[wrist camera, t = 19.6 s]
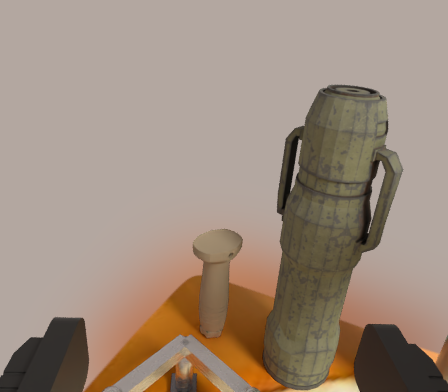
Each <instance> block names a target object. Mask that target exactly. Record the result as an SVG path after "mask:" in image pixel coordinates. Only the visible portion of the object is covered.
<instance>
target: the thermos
mask: <svg viewBox="0 0 448 392" xmlns="http://www.w3.org/2000/svg"><path fill="white" fill-rule="evenodd" d="M387 132H388V114H387V102H386V98H385V97H384V96H382V95H379V92H378V91H376V90H373V89H369V88H364V87H358V86H350V85H329V86H328V87H327V88H323V89H320V90H319V92H318V94H317V96H316V98H315V100H314V102H313V104H312V106H311V108H310V110H309V112H308V114H307V116H306V120H305V126H301V127H298V128H295V129H294V130H293V131H292V132H291V133H290V135H289V136H288V137H287V138H286V142H285V149H284V156H283V163H282V170H281V177H280V183H279V190H278V201H277V213H279V214H281V215H282V221H283V225H282V231H281V238H280V244H281V248H282V251H283V252H282V258H281V264H280V271H279V276H278V283H277V289H276V295H275V301H274V307H273V310H272V311H271V313H270V314H269V316H268V317H267V323H266V329H265V335H264V351H263V363H264V366H265V368H266V370H267V372H268V373H269V374H270V375H271V376H272V377H273V378H274V379H275V380H276V381H277V382H279V383H281V384H282V385H284V386H286V387H289V388H292V389H295V390H310V389H313V388H317V387H318V386H320V385H321V384H322V383H324V381H325V380H326V378H327V376H328V374H329V368H330V366H331V364H332V362H333V360H334V357H335V353H336V349H337V346H338V341H339V334H340V326H339V319H340V315H341V312H342V308H343V304H344V301H345V297H346V293H347V289H348V285H349V282H350V278H351V274H352V270H353V268H354V267H355V266H356V265H357V263H358V262H359V261H360V259H361V255H362V253H363V252H367V251H370V250H373V249H375V248H376V247H377V246H378V245H379V243H380V240H381V236H382V233H383V229H384V225H385V222H386V219H387V216H388V213H389V210H390V207H391V204H392V201H393V199H394V196H395V192H396V190H397V187H398V184H399V180H400V177H401V174H402V172H403V168H402V166H401V163H400V160H399V158H398V155H397V153H396V152H393V151H391V150H388V149H386V145H384V143H385V139H386V136H387ZM299 139H300V140H302V144H301V150H300V156H299V163H298V164H299V166H300V169H299V173H298V174H297V176H296V180H295V185H294V187H293V189H292V191H291V192H290V189H291V183H292V176H293V171H294V164H295V158H296V151H297V145H298V140H299ZM380 161H382V163H383V166H384V169H385V172H386V173H385V176H384V180H383V184H382V187H381V191H380V195H379V198H378V202H377V205H376V209H375V212H374V216H373V220H372V223H371V227H370V231H369V233H367V232H368V229H369V225H370V222H371V210H370V196H371V193H372V187H371V184H372V180H373V179H374V178H375V177H376V174H377V170H378V166H379V162H380Z"/></svg>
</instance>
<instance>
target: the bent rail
mask: <svg viewBox="0 0 448 392" xmlns="http://www.w3.org/2000/svg"><path fill="white" fill-rule="evenodd" d="M175 365H176V373H172V379H171V390H170V392H196V383H197V374H193V366H195V367H196V368H197V369H198V370H199V371H200V372H201V373H202V374H203V375H204V376H205V377H206V378H207V379H208V380H210V381H211V382H212V383H213V384H214V385H215V386H216V387H217V388H218V389H219V390H220V391H221V392H260V391H259V390H258V389H257V388H255V387H251V386H250V385H249V384H248V383H247V382H246V381H244V380H243V379H242V378H241V377H240V376H239V375H237V374H236V373H235V372H234V371H233V370H232V369H230V368H229V367H228V366H227V365H226V364H225V363H224V362H222V361H221V360H220V359H219V358H218V357H217V356H215V355H214V354H213V353H212V352H211V351H210V350H208V349H207V348H206V347H205V346H204V345H203V344H201V343H200V342H199V341H198V340H197V339H196V338H194V337H193V336H192V335H189V336H188V337H183V336H182V335H181V334H180V335H179V336H177V337H176V338H175V339H173V340H172V341H171V342H170V343H168V344H167V345H166V346H164V347H163V348H162V349H160V350H159V351H158V352H156V353H155V354H154V355H152V356H151V357H150V358H148V359H147V360H146V361H144V362H143V363H142V364H140V365H139V366H138V367H136V368H135V369H134V370H132V371H131V372H130V373H129V374H127V375H126V376H125V377H123V378H122V379H121V380H119V381H118V382H117V383H115V384H114V385H113V386H109V387H107V388H105V389H104V390H103V391H102V392H143V391H144V390H146V389H147V388H148V387H149V386H150V385H152V384H153V383H154V382H155V381H156V380H158V379H159V378H160V377H161V376H163V375H164V374H165V373H166V372H167V371H169V370H170V369H171V368H172V367H173V366H175Z"/></svg>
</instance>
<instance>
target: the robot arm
mask: <svg viewBox="0 0 448 392" xmlns="http://www.w3.org/2000/svg"><path fill="white" fill-rule="evenodd" d="M88 364H89V355H88V346H87V338H86V329H85V321H84V319H83V318H60V317H59V318H58V317H55V318H54V319H53V320H52V321H51V323H50V325H49V327H48V329H47V331H46V333H45V335H44V337H43V338H36V337H34V338H33V337H31V338H30V339H29V340H27V341H26V342H25V343H24V344H23V345H22V346H21V347H20V348H19V349H18V350H17V351H16V352H14V354H13V355H12V357H11V359H10V361H9V363H8V365H7V367H6V368H5V370H4V373H3V375H2V376H1V377H0V392H82V391H83V388H84V385H85V382H86V378H87V373H88ZM354 374H355V379H356V383H357V386H358V388H359V391H360V392H448V336H447V338H446V340H445V342H444V345H443V347H442V350H441V352H440V354H439V356H438V358H437V361H436V363H434V362H433V360H432V359H431V358H430V357H429V356H428V355H427V354H426V353H425V352H423V351H422V350H421V349H420V348H419V347H418V346H417V345H416V344H408V343H407V341H406V339H405V338H404V337H403V335H402V333H401V331H400V330H399V328H398V327H397V326H396V325H392V324H390V325H389V324H368V325H366V327H365V329H364V332H363V335H362V338H361V342H360V345H359V348H358V351H357V355H356V358H355V362H354Z"/></svg>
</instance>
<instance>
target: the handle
mask: <svg viewBox="0 0 448 392" xmlns="http://www.w3.org/2000/svg"><path fill="white" fill-rule="evenodd" d="M242 241H243V239H242V237H241V236H240V235H239V234H237V233H235V232H234V231H231V230H228V229H220V230H212V231H209V232H206V233H204V234H202V235H200V236H198V237H197V238H196V239H195V240H194V242H193V252H194V254H195V255H196V256H197V257H198V258H199V259H201V260H203V261H204V264H203V273H202V281H201V289H200V296H199V318H200V324H201V325H200V331H201V333H202V334H204V335H205V336H206V338H212V337H216V338H217V337H219V336H220V335H221V332H222V330H223V327H224V323H225V320H226V315H227V309H228V300H229V263H230V260H232V259H233V258H234V257H235V256H236V255H237V254H238V252H239V251H240V249H241V247H242Z"/></svg>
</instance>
